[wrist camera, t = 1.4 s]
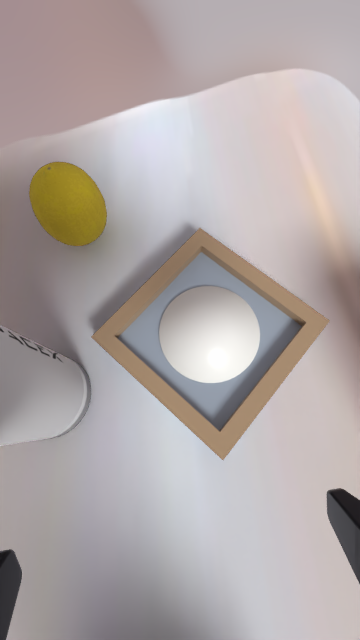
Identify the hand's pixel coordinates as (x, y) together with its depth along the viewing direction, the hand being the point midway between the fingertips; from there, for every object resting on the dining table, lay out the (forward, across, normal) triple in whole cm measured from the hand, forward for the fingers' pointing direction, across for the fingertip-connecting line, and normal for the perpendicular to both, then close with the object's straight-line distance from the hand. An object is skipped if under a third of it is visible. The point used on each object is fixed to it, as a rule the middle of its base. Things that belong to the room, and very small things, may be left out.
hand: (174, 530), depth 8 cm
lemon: (+23, +6, -10) cm, 26 cm away
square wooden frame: (+16, -4, 0) cm, 17 cm away
